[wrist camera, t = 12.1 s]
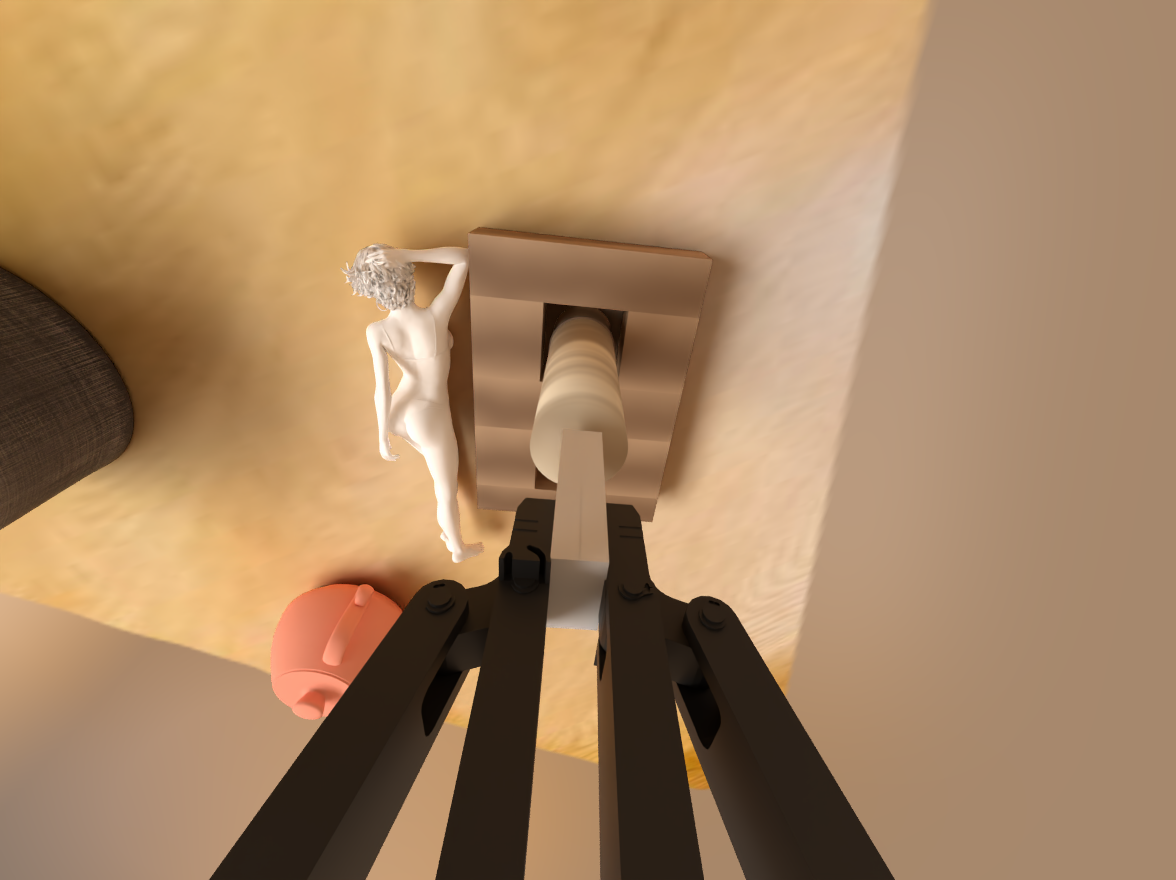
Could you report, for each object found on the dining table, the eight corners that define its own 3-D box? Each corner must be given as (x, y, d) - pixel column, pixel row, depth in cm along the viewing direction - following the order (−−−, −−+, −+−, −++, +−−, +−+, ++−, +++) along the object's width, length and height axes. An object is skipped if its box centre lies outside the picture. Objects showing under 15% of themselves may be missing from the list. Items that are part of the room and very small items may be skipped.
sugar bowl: (287, 625, 48) (220, 728, 39) (314, 541, 41) (240, 641, 32) (400, 659, 51) (361, 760, 42) (441, 585, 44) (405, 687, 36)
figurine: (479, 517, 43) (418, 232, 30) (519, 542, 40) (471, 236, 27) (409, 566, 38) (299, 248, 25) (449, 598, 35) (348, 256, 22)
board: (479, 227, 27) (467, 233, 25) (701, 251, 28) (712, 259, 26) (485, 485, 38) (477, 508, 35) (647, 498, 38) (652, 521, 36)
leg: (554, 300, 30) (529, 398, 17) (616, 306, 30) (637, 407, 17) (550, 358, 32) (526, 485, 19) (608, 364, 32) (622, 492, 19)
